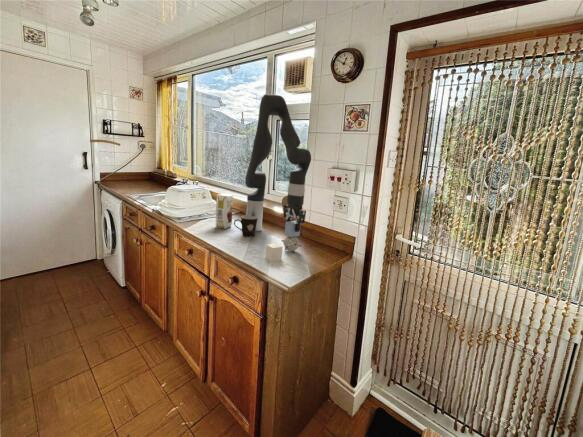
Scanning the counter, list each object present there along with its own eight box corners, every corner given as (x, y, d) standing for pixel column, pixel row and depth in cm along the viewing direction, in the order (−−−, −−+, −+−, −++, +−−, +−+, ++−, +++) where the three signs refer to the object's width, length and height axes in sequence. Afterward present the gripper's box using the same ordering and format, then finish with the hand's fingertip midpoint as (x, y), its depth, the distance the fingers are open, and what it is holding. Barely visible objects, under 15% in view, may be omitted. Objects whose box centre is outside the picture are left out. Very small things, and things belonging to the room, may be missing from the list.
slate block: (284, 233, 139) (285, 221, 138) (293, 233, 142) (294, 220, 141) (290, 237, 135) (292, 224, 134) (299, 236, 138) (300, 223, 137)
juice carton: (213, 227, 169) (215, 194, 165) (221, 224, 177) (222, 192, 173) (225, 229, 167) (227, 196, 163) (233, 226, 175) (234, 194, 171)
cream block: (265, 257, 129) (266, 244, 128) (275, 256, 132) (276, 243, 131) (271, 261, 125) (272, 248, 124) (281, 260, 128) (282, 246, 127)
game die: (293, 258, 142) (308, 243, 140) (285, 256, 134) (300, 241, 133) (282, 245, 146) (296, 230, 144) (274, 242, 139) (289, 227, 137)
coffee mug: (257, 234, 163) (259, 216, 161) (254, 238, 155) (255, 219, 153) (237, 231, 164) (238, 214, 162) (232, 236, 156) (233, 217, 154)
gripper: (280, 191, 138) (277, 226, 141) (299, 196, 127) (295, 234, 130) (292, 191, 142) (289, 225, 146) (312, 196, 131) (308, 233, 135)
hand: (292, 229), depth 138 cm, fingers open, 6 cm apart
